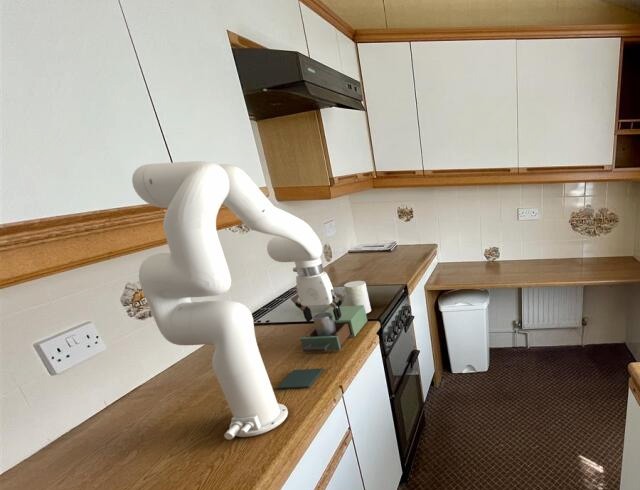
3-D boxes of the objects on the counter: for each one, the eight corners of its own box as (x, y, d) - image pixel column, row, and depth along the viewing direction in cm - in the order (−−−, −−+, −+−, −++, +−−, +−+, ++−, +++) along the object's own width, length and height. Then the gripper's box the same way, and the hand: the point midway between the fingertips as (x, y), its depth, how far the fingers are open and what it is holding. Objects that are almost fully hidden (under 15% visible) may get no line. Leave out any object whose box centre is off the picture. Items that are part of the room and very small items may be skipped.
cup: (346, 314, 165) (339, 286, 160) (357, 307, 173) (351, 280, 167) (364, 315, 164) (357, 287, 158) (374, 308, 171) (369, 281, 166)
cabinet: (354, 336, 145) (350, 319, 142) (318, 338, 145) (313, 321, 142) (367, 320, 158) (364, 305, 156) (334, 322, 158) (330, 306, 156)
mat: (308, 387, 115) (308, 386, 114) (277, 389, 115) (276, 387, 114) (323, 370, 124) (322, 368, 123) (294, 371, 124) (293, 369, 123)
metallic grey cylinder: (334, 343, 136) (327, 318, 133) (316, 343, 136) (309, 319, 133) (340, 335, 142) (334, 311, 138) (323, 336, 142) (317, 312, 138)
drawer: (334, 356, 130) (330, 343, 127) (297, 358, 130) (293, 345, 128) (353, 333, 146) (350, 320, 144) (321, 334, 146) (317, 322, 144)
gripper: (277, 275, 126) (293, 325, 133) (333, 272, 125) (345, 322, 133) (289, 268, 132) (303, 316, 140) (341, 265, 132) (353, 314, 140)
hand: (324, 319), depth 136 cm, fingers open, 9 cm apart
